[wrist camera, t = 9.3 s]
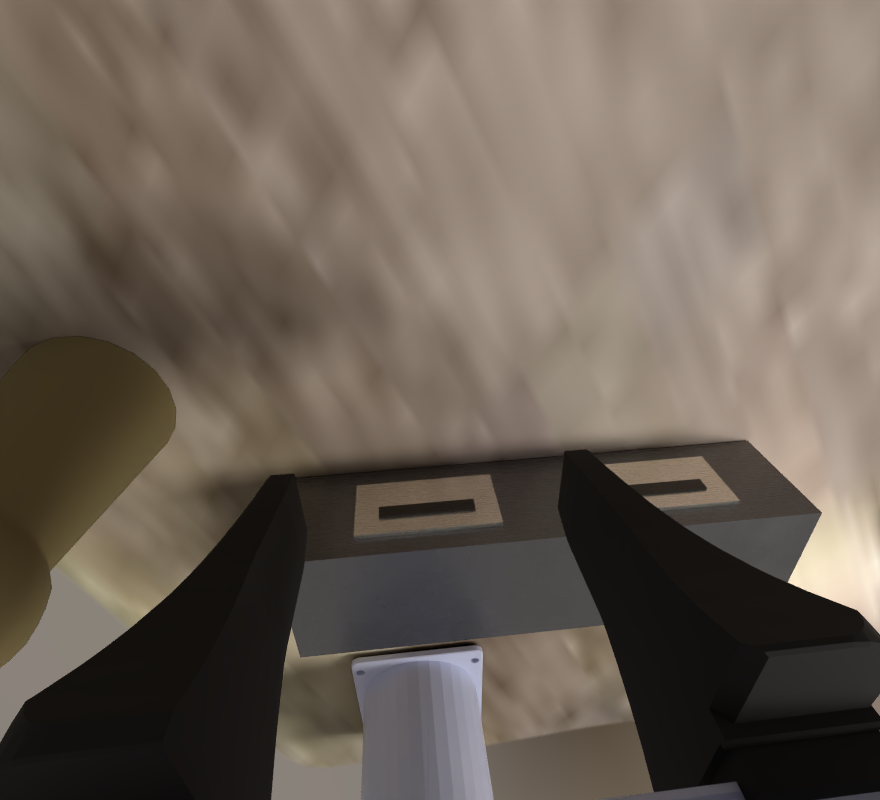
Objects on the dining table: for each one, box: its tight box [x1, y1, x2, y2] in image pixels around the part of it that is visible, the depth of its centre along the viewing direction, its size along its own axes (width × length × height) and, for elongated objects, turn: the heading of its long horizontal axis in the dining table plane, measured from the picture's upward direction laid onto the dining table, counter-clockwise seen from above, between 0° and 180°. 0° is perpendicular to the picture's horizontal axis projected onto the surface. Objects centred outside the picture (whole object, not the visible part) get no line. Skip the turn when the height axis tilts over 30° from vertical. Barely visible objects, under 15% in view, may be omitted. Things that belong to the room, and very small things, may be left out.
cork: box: [0, 336, 176, 667], centre depth 16 cm, size 6×6×11 cm
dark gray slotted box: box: [292, 441, 822, 657], centre depth 24 cm, size 6×22×5 cm, turn 92°
